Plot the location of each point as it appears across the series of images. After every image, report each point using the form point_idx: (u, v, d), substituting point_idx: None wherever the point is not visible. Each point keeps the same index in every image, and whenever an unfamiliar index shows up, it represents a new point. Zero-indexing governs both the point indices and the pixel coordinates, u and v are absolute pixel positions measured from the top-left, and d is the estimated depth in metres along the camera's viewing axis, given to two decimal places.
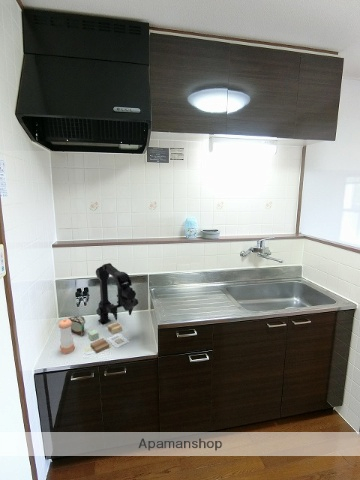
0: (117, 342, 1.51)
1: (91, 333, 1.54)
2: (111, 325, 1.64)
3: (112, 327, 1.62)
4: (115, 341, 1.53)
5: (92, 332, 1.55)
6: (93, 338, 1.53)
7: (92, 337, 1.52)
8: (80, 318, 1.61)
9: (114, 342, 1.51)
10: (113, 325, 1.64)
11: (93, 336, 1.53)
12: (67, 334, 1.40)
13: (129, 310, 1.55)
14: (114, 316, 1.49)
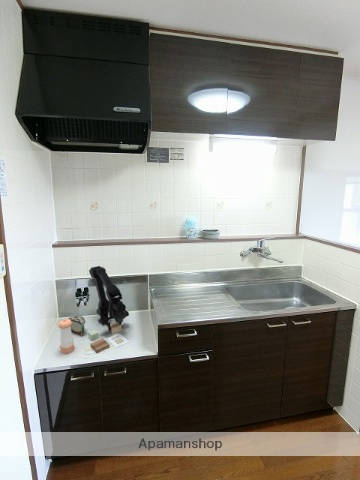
0: (117, 342, 1.51)
1: (91, 333, 1.54)
2: (111, 325, 1.64)
3: (112, 327, 1.62)
4: (115, 341, 1.53)
5: (92, 332, 1.55)
6: (93, 338, 1.53)
7: (92, 337, 1.52)
8: (80, 318, 1.61)
9: (114, 342, 1.51)
10: (113, 325, 1.64)
11: (93, 336, 1.53)
12: (67, 334, 1.40)
13: (119, 322, 1.66)
14: (108, 327, 1.61)
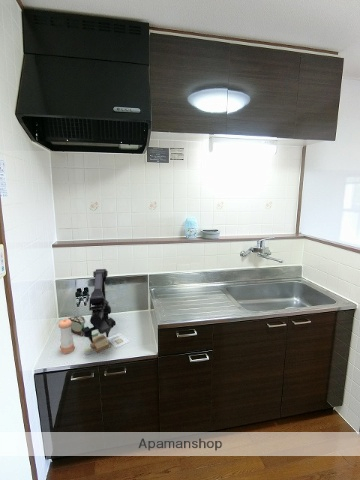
0: (117, 342, 1.51)
1: None
2: (96, 338, 1.46)
3: (97, 340, 1.44)
4: (115, 341, 1.53)
5: (92, 332, 1.55)
6: None
7: (92, 337, 1.52)
8: (80, 318, 1.61)
9: (114, 342, 1.51)
10: (98, 338, 1.46)
11: (93, 336, 1.53)
12: (67, 334, 1.40)
13: (106, 332, 1.49)
14: (89, 339, 1.42)
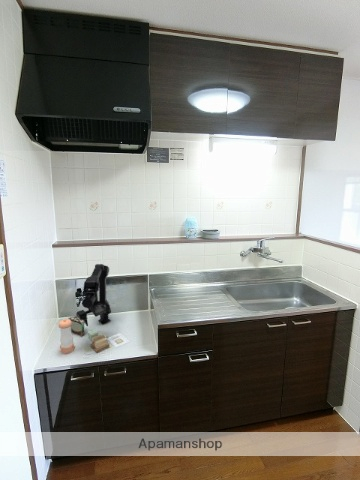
0: (117, 342, 1.51)
1: (91, 333, 1.54)
2: (95, 337, 1.47)
3: (96, 340, 1.44)
4: (115, 341, 1.53)
5: (92, 332, 1.55)
6: None
7: (92, 337, 1.52)
8: None
9: (114, 342, 1.51)
10: (98, 337, 1.47)
11: (93, 336, 1.53)
12: (67, 334, 1.40)
13: (101, 315, 1.54)
14: None
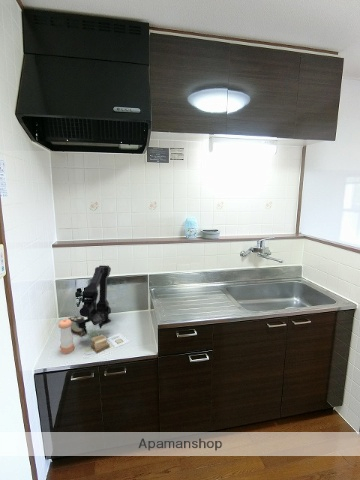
0: (117, 342, 1.51)
1: (91, 333, 1.54)
2: (95, 338, 1.46)
3: (96, 340, 1.44)
4: (115, 341, 1.53)
5: (92, 332, 1.55)
6: None
7: (92, 337, 1.52)
8: (80, 318, 1.61)
9: (114, 342, 1.51)
10: (97, 338, 1.46)
11: (93, 336, 1.53)
12: (67, 334, 1.40)
13: (99, 324, 1.58)
14: (83, 330, 1.51)
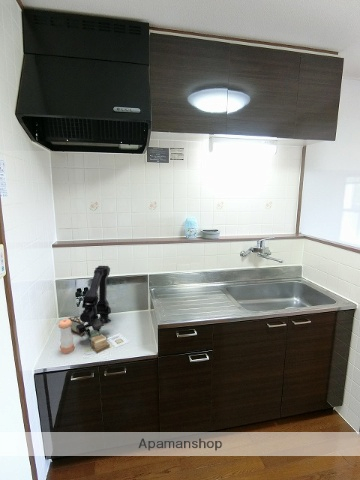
0: (117, 342, 1.51)
1: (91, 333, 1.54)
2: (95, 338, 1.46)
3: (96, 340, 1.44)
4: (115, 341, 1.53)
5: (92, 332, 1.55)
6: None
7: (92, 336, 1.52)
8: None
9: (114, 342, 1.51)
10: (97, 338, 1.46)
11: (93, 336, 1.53)
12: (67, 334, 1.40)
13: None
14: (87, 334, 1.53)
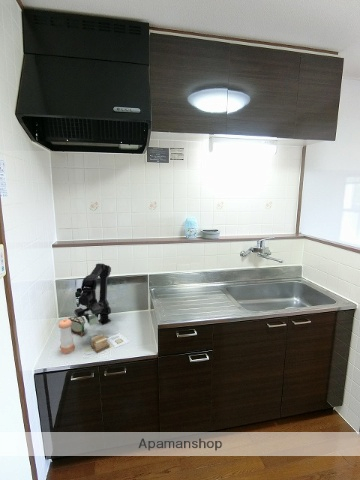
0: (117, 342, 1.51)
1: (90, 318, 1.51)
2: (95, 338, 1.46)
3: (96, 340, 1.44)
4: (115, 341, 1.53)
5: (91, 317, 1.52)
6: (92, 323, 1.51)
7: (91, 321, 1.50)
8: (80, 318, 1.61)
9: (114, 342, 1.51)
10: (97, 338, 1.46)
11: (92, 320, 1.51)
12: (67, 334, 1.40)
13: (95, 315, 1.54)
14: (86, 319, 1.51)
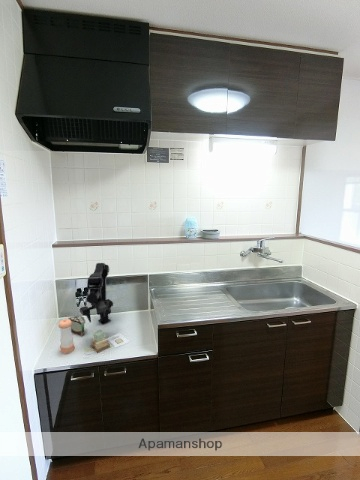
0: (117, 342, 1.51)
1: (97, 334, 1.44)
2: None
3: (96, 341, 1.44)
4: (115, 341, 1.53)
5: (97, 332, 1.45)
6: (99, 339, 1.43)
7: (98, 337, 1.43)
8: (80, 318, 1.61)
9: (114, 342, 1.51)
10: None
11: (99, 337, 1.43)
12: (67, 334, 1.40)
13: (104, 312, 1.55)
14: (88, 318, 1.48)
